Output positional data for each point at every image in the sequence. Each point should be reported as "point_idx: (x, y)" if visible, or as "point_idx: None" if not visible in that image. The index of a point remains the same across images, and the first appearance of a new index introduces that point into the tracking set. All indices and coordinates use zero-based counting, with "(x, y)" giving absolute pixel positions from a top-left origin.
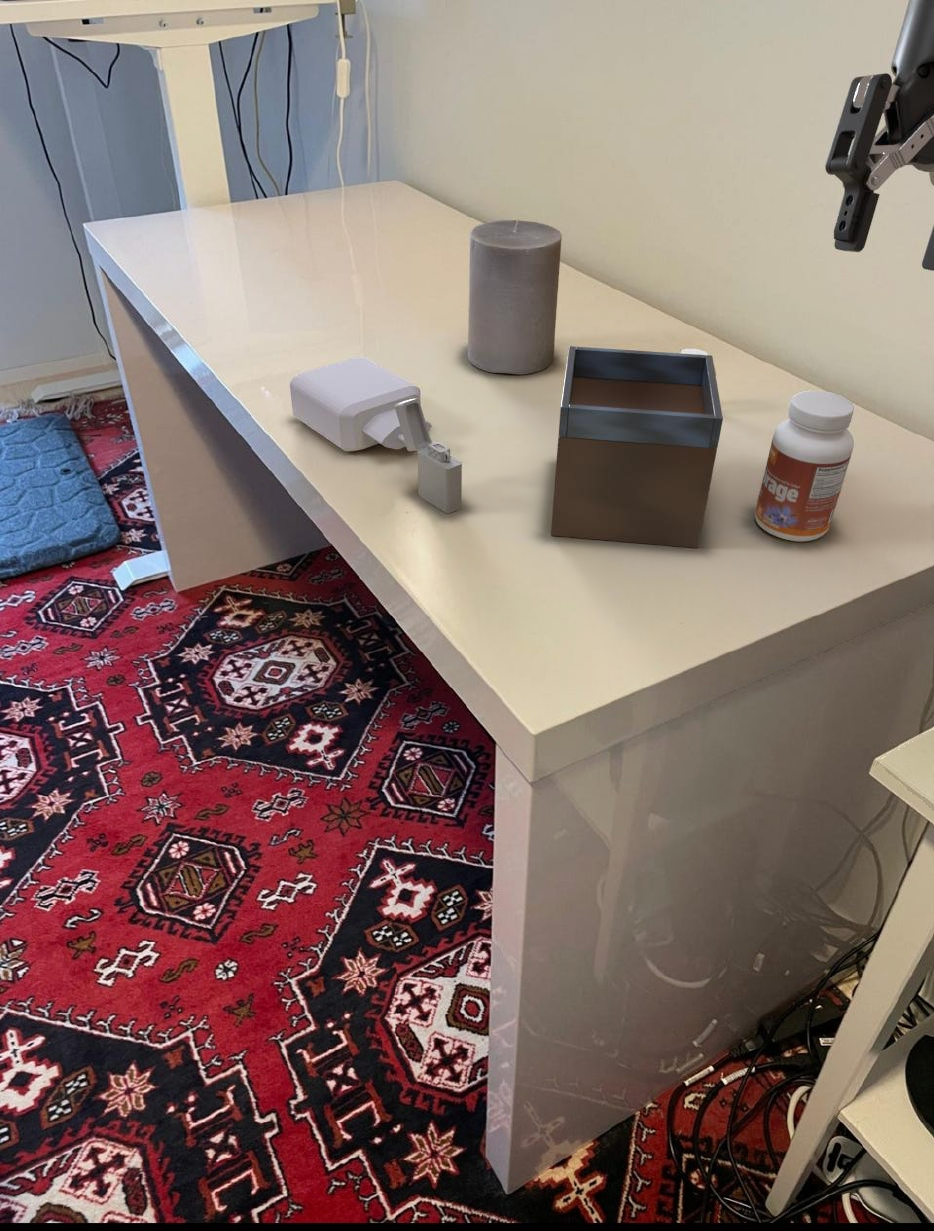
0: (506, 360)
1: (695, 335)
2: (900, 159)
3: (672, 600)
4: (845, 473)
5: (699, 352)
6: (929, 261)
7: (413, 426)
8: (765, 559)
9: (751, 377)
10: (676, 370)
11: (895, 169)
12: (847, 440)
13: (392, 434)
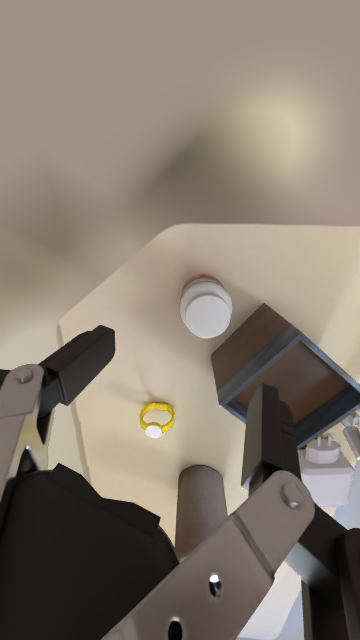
0: (216, 477)
1: (93, 457)
2: (247, 541)
3: (314, 274)
4: (193, 282)
5: (149, 431)
6: (109, 353)
7: (356, 442)
8: (242, 276)
9: (99, 412)
10: (237, 406)
11: (236, 511)
12: (199, 289)
13: (335, 447)
